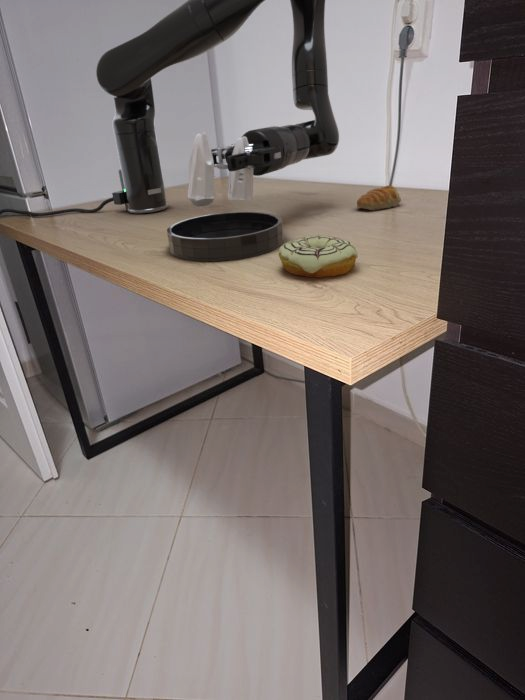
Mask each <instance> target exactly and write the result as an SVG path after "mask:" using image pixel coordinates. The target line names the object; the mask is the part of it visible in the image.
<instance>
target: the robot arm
mask: <svg viewBox="0 0 525 700" xmlns="http://www.w3.org/2000/svg"><path fill="white" fill-rule="evenodd" d="M289 1H290V7H291V12H292V23H293V36H292V37H293V39H292V49H291V50H292V51H291V80H292V98H293V104H294V106H295V108H296V109H299V110H301V111H312V113H313V115H314V119H313V120H309V121H304V122H300V123H296V124H286V125H281V126H279V125H278V126H277V125H273V126H266V127H261V128H257V129H251V130H248V131H246V132H245V133H243V134H242V136H240V138H242V137H243V136H245V137H247V140H248V143H249V147H245V152H244V153H240V154H235V155H232V153H233V150H234V147H235V144H236V143H232V144H230V145H227V146H219V147H218V146H217V147H215V148H211V152H212V156H213V161H214V168H217V169H219V170H228V172H229V171H236V170H240V169H244V168H248V169H251V168H253V177H255V176H256V177H260V176H264V175H266V174H270V173H274V172H277V171H280V170H282V169H284V168H286V167H289V166H292V165H295V164H298V163H300V162H302V161H304V160H309V159H314V158H315V159H316V158H319V157H326V156H330V155H333V153H334V152H335V151H336V149H337V148H338V145H339V142H340V131H339V127H338V124H337V121H336V118H335V115H334V111H333V108H332V103H331V101H330V95H329V79H328V59H327V48H326V47H327V46H326V34H325V33H326V32H325V11H326V10H325V9H326V0H289ZM264 2H266V0H186V1H185V2H184V3H182V4H181V5H180V6H178V7H177V8H176V9H174V10H172V11H171V12H170V13H168V14H167V15H166V16H164V17H162V18H161V19H160V20H159V21H158V22H156V23H155V24H154V25H152V26H151V27H150V28H149V29H147V30H146V31H144V32H142V33H140V34H139V35H137V36H135V37H133V38H131V39H129V40H127V41H125V42H123V43H121V44H118V45H117V46H115V47H113V48H110V49H108V50H107V51H105V52H104V53H103V54H102V55H101V56H100V58H99V60H98V62H97V65H96V68H95V69H96V70H95V76H96V81H97V83H98V85H99V87H100V88H101V89H102V91H103V92H104V93H106V94H107V95H109V96H111V97H113V102H114V117H113V119H112V122H111V126H112V131H113V135H114V141H115V146H116V153H117V156H118V162H119V167H120V168H119V169H118V176H119V182H120V188H121V190H119V191H114V192H112V193H111V195H112V197H110V198H107V199H106V200H103V201H102V202H101V203H100V204H99V205H98V207H95V208H92V209H87V208H79V207H77V208H75V207H74V208H67V209H65V208H64V209H57V210H52V211H47V212H32V211H29V210H19V209H14V208H3V209H0V216H1V215H2V214H4V213H12V214H13V213H14V214H19V215H29V216H32V217H48V216H55V215H61V214H67V213H85V214H94V213H98V212H100V211H101V210H102V209H103V208H104V207H105V205H108V204H109V203H111V202H113V204H114V205H120V206H122V205H124V208H125V212H128V213H130V214H151V213H156V212H161V211H164V210H166V209H168V207H169V205H168V201H167V195H166V190H165V189H166V188H165V183H164V182H165V181H164V176H163V171H162V162H161V158H160V151H159V145H158V139H157V132H156V125H155V120H156V106H155V105H156V104H155V98H154V91H153V84H152V83H153V82H152V78H153V77H155V76H156V75H157V74H159V73H160V72H162V71H164V70H165V69H167V68H170V67H172V66H175V65H177V64H180V63H183V62H186V61H188V60H191V59H194V58H196V57H199V56H201V55H203V54H205V53H208V52H210V51H211V50H213V49H215V48H216V47H218V46H219V45H221V44H223V43H224V42H225V41H226V42H227V40H229V39H230V38H231V37H233V36H234V35H235V34H236V33H237V32H238V31H239V30H240V29H241V28H242V27H243V26H244V24H245V23H246V22H247V20H249V18H250V16H252V14H253V13H254V12H255V11H256V9H257V8H259V7H260V5H261V4H263V3H264ZM224 160H225V163H226V164H224ZM13 302H14V305H15V307H16V311H17V314H18V317H19V319H20V322H21V325H22V329H23V333H24V335H25V337H26V341H27V345H30V344H32V341H31V338H30V335H29V331H28V329H27V325H26V321H25V319H24V316H23V313H22V310H21V307H20V304H19V302H18V301H13Z"/></svg>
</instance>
